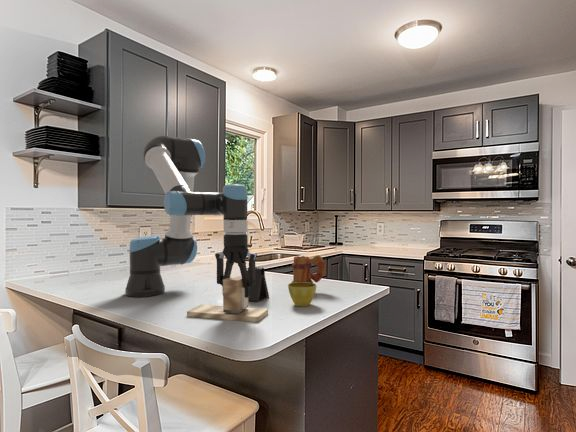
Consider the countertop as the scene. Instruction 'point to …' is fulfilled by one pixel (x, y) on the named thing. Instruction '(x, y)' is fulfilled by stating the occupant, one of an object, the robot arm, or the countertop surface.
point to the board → (218, 313)
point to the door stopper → (258, 286)
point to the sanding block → (232, 294)
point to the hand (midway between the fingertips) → (236, 306)
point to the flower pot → (302, 292)
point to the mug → (307, 269)
